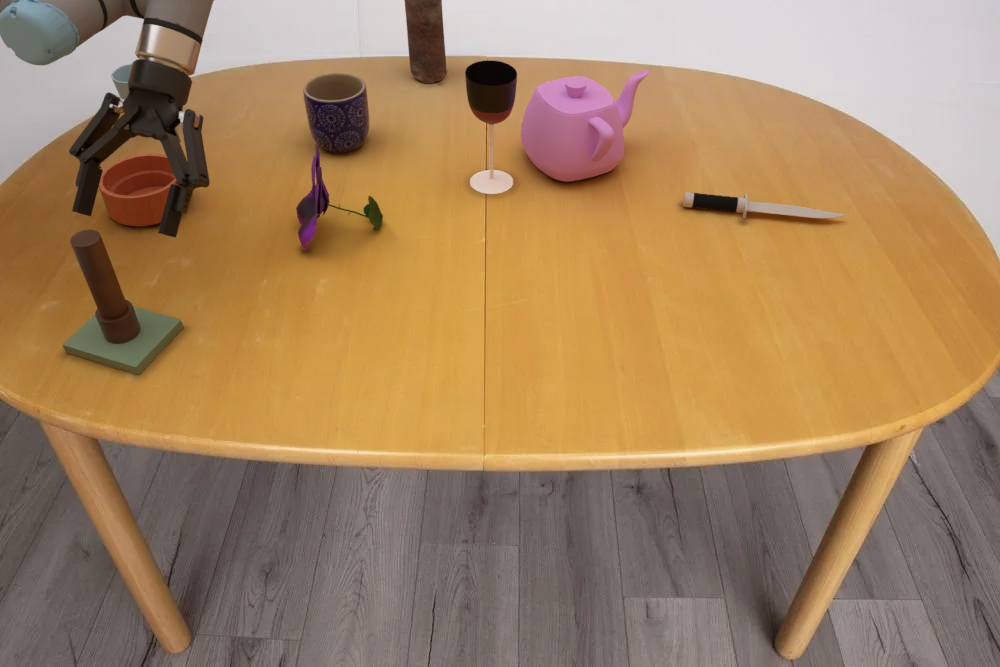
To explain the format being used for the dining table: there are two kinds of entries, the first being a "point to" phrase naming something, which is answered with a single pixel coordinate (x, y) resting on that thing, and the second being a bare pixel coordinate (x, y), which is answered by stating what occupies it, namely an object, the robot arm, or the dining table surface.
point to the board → (132, 353)
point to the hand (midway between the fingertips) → (123, 224)
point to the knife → (750, 206)
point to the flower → (325, 206)
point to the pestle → (105, 288)
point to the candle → (426, 39)
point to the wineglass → (491, 113)
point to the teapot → (577, 126)
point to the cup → (122, 80)
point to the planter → (337, 111)
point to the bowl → (137, 189)
